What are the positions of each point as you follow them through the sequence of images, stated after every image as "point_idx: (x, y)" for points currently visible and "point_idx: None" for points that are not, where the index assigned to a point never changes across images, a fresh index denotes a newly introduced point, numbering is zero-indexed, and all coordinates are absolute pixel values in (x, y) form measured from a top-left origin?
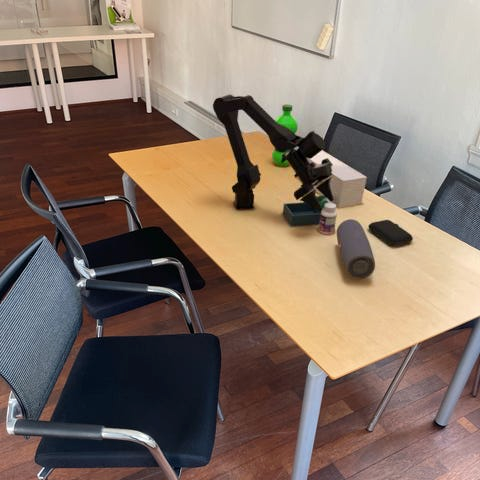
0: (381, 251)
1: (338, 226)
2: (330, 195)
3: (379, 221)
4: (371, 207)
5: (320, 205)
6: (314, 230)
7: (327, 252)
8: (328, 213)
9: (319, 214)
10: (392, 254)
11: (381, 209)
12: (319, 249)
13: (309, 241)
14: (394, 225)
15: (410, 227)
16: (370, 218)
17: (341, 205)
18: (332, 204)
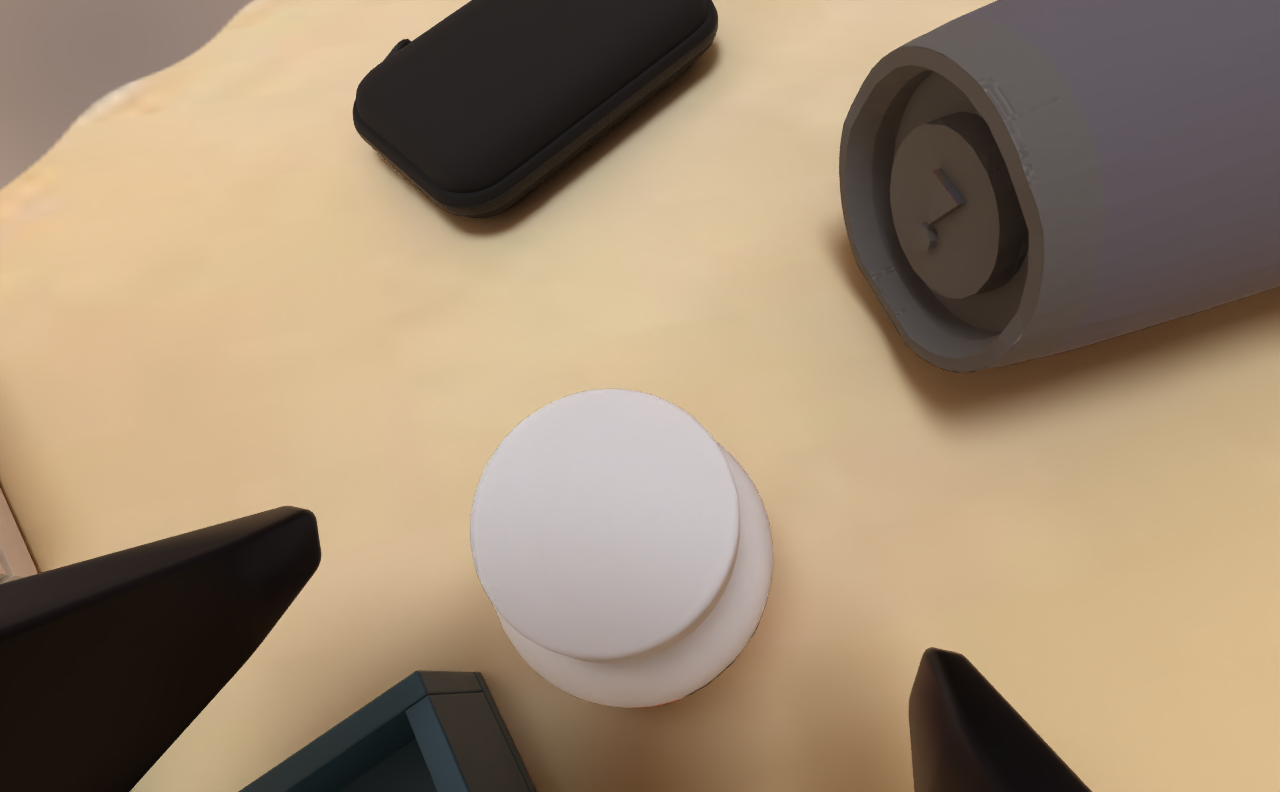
0: (814, 93)
1: (1042, 302)
2: (203, 580)
3: (416, 121)
4: (39, 295)
5: (1000, 726)
6: (708, 750)
7: (1158, 463)
8: (740, 531)
9: (461, 758)
10: (817, 35)
11: (79, 223)
12: (1161, 565)
13: (1051, 746)
14: (462, 26)
15: (361, 29)
16: (258, 261)
17: (5, 551)
18: (548, 473)
